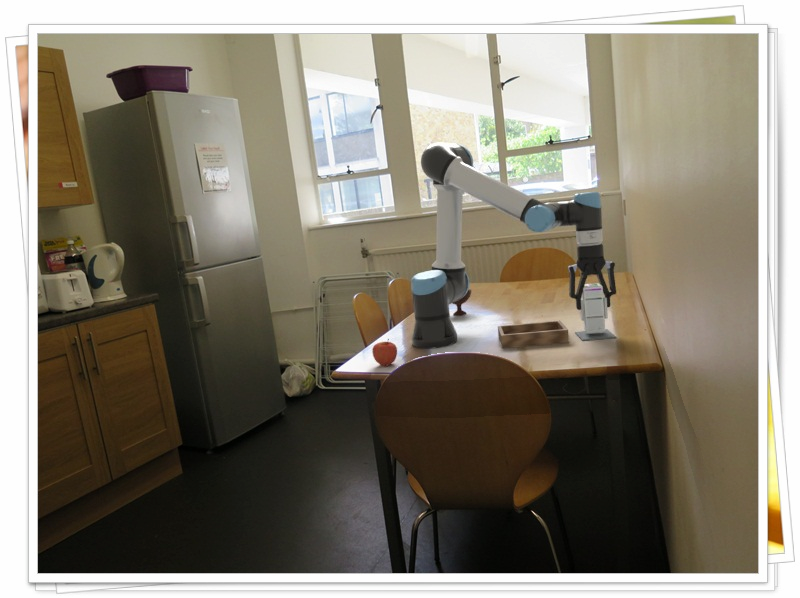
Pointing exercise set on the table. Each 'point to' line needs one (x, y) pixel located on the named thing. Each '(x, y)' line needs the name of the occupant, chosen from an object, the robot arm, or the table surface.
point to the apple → (384, 353)
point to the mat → (595, 335)
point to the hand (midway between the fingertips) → (593, 318)
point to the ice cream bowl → (460, 302)
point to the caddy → (533, 334)
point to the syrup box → (593, 308)
